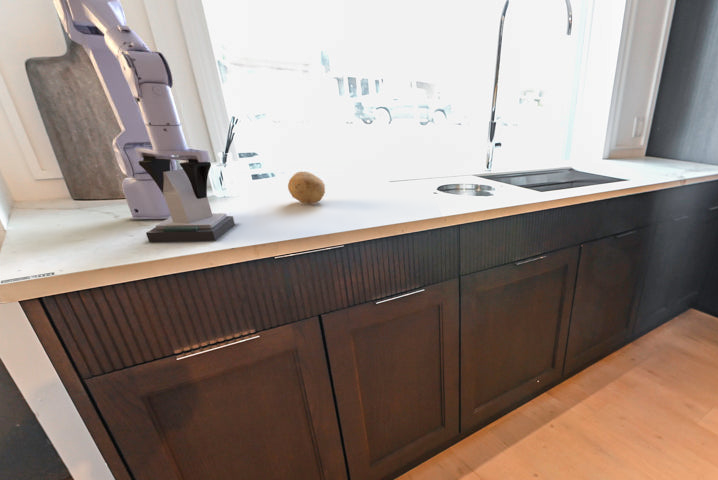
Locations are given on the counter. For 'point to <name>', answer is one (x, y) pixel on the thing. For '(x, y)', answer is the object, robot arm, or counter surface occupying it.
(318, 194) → the potato
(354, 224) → the counter surface
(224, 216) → the scale
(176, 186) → the grey angular block
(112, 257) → the counter surface
